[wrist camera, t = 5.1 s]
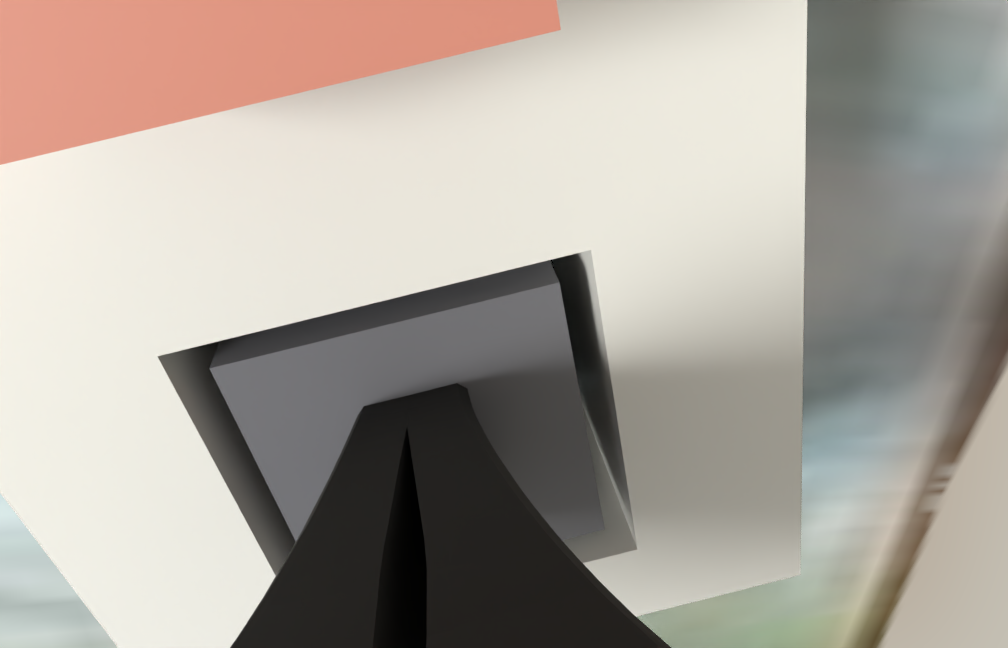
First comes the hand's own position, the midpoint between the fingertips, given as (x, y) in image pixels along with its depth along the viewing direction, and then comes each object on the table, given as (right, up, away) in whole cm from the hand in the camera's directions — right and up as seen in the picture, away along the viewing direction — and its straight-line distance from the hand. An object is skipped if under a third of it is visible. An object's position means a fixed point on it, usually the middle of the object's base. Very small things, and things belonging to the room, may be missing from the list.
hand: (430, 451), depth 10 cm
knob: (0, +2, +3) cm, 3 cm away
